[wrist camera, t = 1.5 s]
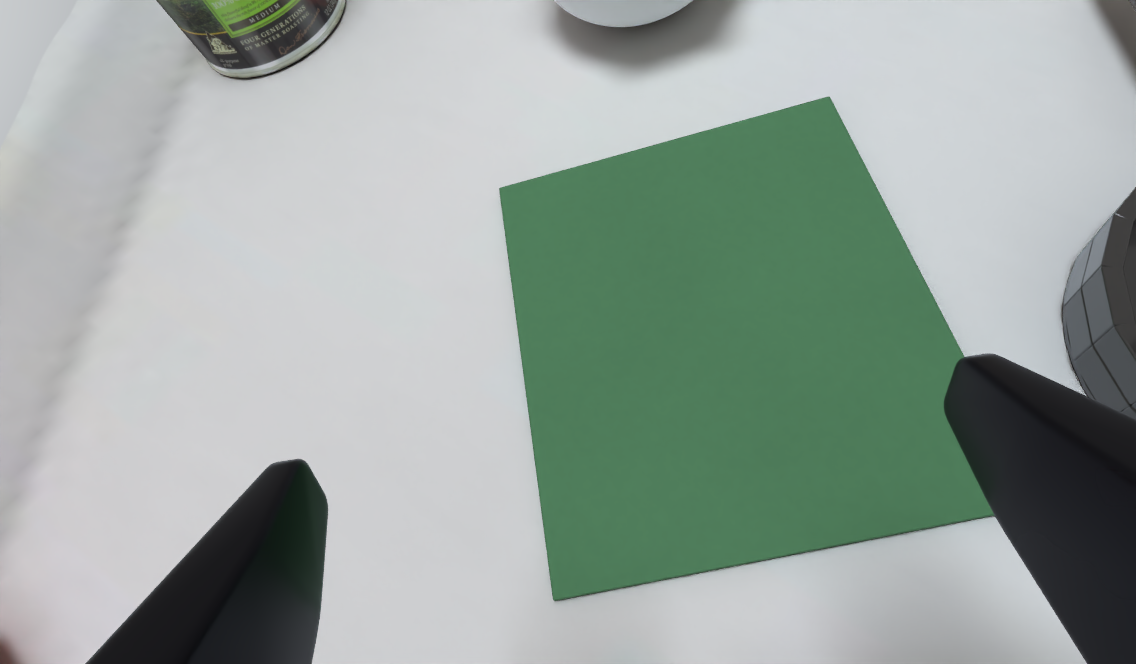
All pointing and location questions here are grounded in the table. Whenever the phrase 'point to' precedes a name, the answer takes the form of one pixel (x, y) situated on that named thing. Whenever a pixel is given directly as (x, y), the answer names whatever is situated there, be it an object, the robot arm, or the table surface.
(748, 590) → the table surface
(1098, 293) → the skillet
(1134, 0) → the skillet handle
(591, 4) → the piggy bank
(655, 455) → the cloth
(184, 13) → the coffee can
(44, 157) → the table surface
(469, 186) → the table surface
